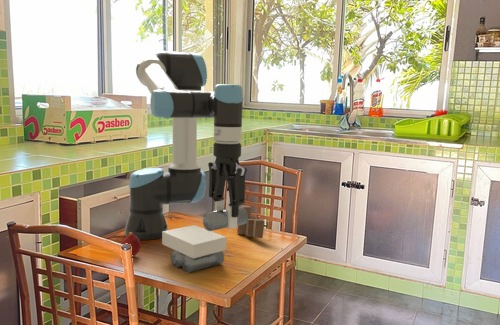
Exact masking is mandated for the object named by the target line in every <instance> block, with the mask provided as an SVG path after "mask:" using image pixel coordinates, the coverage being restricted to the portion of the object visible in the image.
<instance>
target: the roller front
mask: <svg viewBox="0 0 500 325" xmlns="http://www.w3.org/2000/svg"><path fill="white" fill-rule="evenodd" d="M224 260H225V255H224V251H220V252H216V253H213V254H209V255H205V256H201V257H197V258H191V257H189V256H187V255H185V256H183V257H182V259H181V265H182V266H181V268H182V270H183V272H185V273H187V274H189V273H193V272H196V271H200V270H204V269H207V268H211V267H214V266H218V265H221V264H223V263H224Z"/></svg>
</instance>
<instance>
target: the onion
mask: <svg viewBox="0 0 500 325" xmlns="http://www.w3.org/2000/svg"><path fill="white" fill-rule="evenodd" d="M125 243H128V244H131V246H132V255H133V257H134V256H136V255H137V254H138V253H139V252H140V250H141V247H142V244H141V240H139V239H138V237H136V236H135V235H134V234H133V233H132V232H129V235H128V236H125V237H124V238H123V240H122V242H121V245H122V244H125Z"/></svg>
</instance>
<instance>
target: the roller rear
mask: <svg viewBox="0 0 500 325" xmlns="http://www.w3.org/2000/svg"><path fill="white" fill-rule="evenodd" d="M183 256H185V254H182V253H180V252H178V251H176V250H174V249H173V250H172V251H171V253H170V257H169V258H170V263H171V265H172V266H173V267H175V268H180V267H181V268H182V265H181V259H182V257H183Z"/></svg>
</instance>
